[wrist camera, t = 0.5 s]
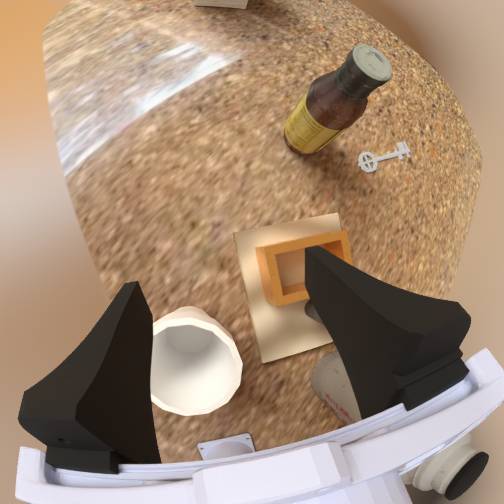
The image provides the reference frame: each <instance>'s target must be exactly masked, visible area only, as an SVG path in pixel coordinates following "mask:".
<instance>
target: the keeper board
mask: <svg viewBox="0 0 504 504" xmlns="http://www.w3.org/2000/svg"><path fill="white" fill-rule="evenodd" d="M339 230H341V226H340V221H339V216H338V213H333V214H327V215H322V216H317V217H311V218H306V219H301V220H295V221H290V222H285V223H280V224H275V225H270V226H264V227H259V228H254V229H249V230H244V231H239V232H235V233H233V236H234V240H235V245H236V250H237V255H238V260H239V264H240V269H241V274H242V279H243V283H244V288H245V293H246V297H247V302H248V306H249V311H250V316H251V320H252V325H253V329H254V334H255V338H256V343H257V347H258V352H259V356H260V360H261V362H262V363H266V362H270V361H273V360H277V359H280V358H283V357H287V356H290V355H293V354H297V353H300V352H303V351H306V350H309V349H313V348H316V347H319V346H322V345H325V344H328V343H330V342H333V340H332V338H331V336H330V334H329V333H328V331H327V329H326V327H325V326H324V324H323V322H322V320H321V319H320V317H319V315H318V313H317V311H316V310H315V308H314V306H313V304H312V302H311V300H310V298H308V299H304V300H300V301H297V302H293V303H289V304H286V305H282V306H278V307H275V306H274V305H272V304H271V303H270V302H268V301H267V300H265V296H264V291H263V286H262V282H261V277H260V272H259V267H258V262H257V257H256V252H255V247H259V246H264V245H269V244H273V243H278V242H283V241H288V240H292V239H297V238H302V237H307V236H311V235H316V234H321V233H325V232H331V231H339ZM315 246H316V245H315ZM319 246H320V247H322V248H324V244H320V245H319ZM275 257H276V262H277V267H278V272H279V277H280V283H281V287H284V286H288V285H292V284H296V283H300V282H304V281H305V248H302V249H297V250H293V251H288V252H284V253H279V254H275Z"/></svg>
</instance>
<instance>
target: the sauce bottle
mask: <svg viewBox="0 0 504 504" xmlns="http://www.w3.org/2000/svg"><path fill="white" fill-rule="evenodd" d="M391 76H392V67H391V64H390V62H389V61H388V59H387V58H386V57H385V55H383V54H382V53H381V52H380V51H378V50H377V49H375V48H373V47H371V46H368V45H358V46H356V47H354V48H353V49H352V50H351V51H350V52H349V54H348V55H347V58H346V61H345V62H344V63H343V64H342V66H341V67H339V68H338V69H337V70H335V71H333V72H330V73H327V74H325V75H323V76H320V77H318V78H317V79H315V80H314V81H313V83H312V84H311V85H310V87H309V88H308V90H307V91H306V92H305V94H304V95H303V97H302V98H301V100H300V101H299V103H298V104H297V106H296V107H295V108H294V110H293V111H292V113H291V114H290V116H289V117H288V119H287V121H286V123H285V128H284V139H285V140H286V142H287V144H288V145H289V146H290V148H292V150H293V151H295V152H297V153H300V154H314V153H316V152H317V151H320V150H321V149H323V148H324V147H325V146H326V145H328V144H329V143H330V142H331V141H333V140H334V139H335V138H336V137H338V136H339V135H340V134H341V133H343V132H344V131H345V130H346V129H348V128H349V127H350V126H351V125H352V124H353V123H354V122H355V121H356V120H357V119H359V118H360V117H361V116H362V114H363V113H364V111H365V109H366V105H367V103H368V100H367V97H368V96H369V95H370V93H371V92H372V91H373V90H375V89H376V88H377V87H379V86H382V85H383V84H385V83H386V82H387V81H388V80H389V79H390V78H391Z"/></svg>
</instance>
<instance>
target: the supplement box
mask: <svg viewBox="0 0 504 504" xmlns="http://www.w3.org/2000/svg"><path fill="white" fill-rule="evenodd" d="M247 3H248V0H194V6H217V7H230V8H241V9H246V6H247Z"/></svg>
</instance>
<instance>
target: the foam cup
mask: <svg viewBox="0 0 504 504" xmlns="http://www.w3.org/2000/svg"><path fill="white" fill-rule="evenodd" d="M242 365H243V363H242V360H241V358H240V355H239V353H238V350H237V348H236V345H235V343H234V340H233V338H232V336H231V334H230V333H229V332H228V331H227V330H226V329H225V328H224V327H222V326H221V325H220V324H219V323H218V322H217V321H216V320H215V319H213V318H211V317H210V316H209V315H208V314H207V313H205V312H204V311H203V310H202V309H199V308H196V307H193V306H188V307H180V308H179V309H177V310H175V311H174V312H172V313H171V314H167V315H166V316H164V317H162V318H161V319H159V320H158V321H156V322H154V323H153V348H152V361H151V377H150V390H151V401H153V402H154V403H155V404H156V405H158V406H159V407H160V408H162V409H163V410H166V411H170V412H173V413H177V414H180V415H184V416H189V415H199V414H208V413H210V412H212V411H214V410H215V409H217V408H219V407H221V406H222V405H224V404H226V403H228V401H229V400H230V399H231V397H232V396H233V394H234V393H235V391H236V390H237V389H238V387H239V386H240V381H241V373H242Z"/></svg>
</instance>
